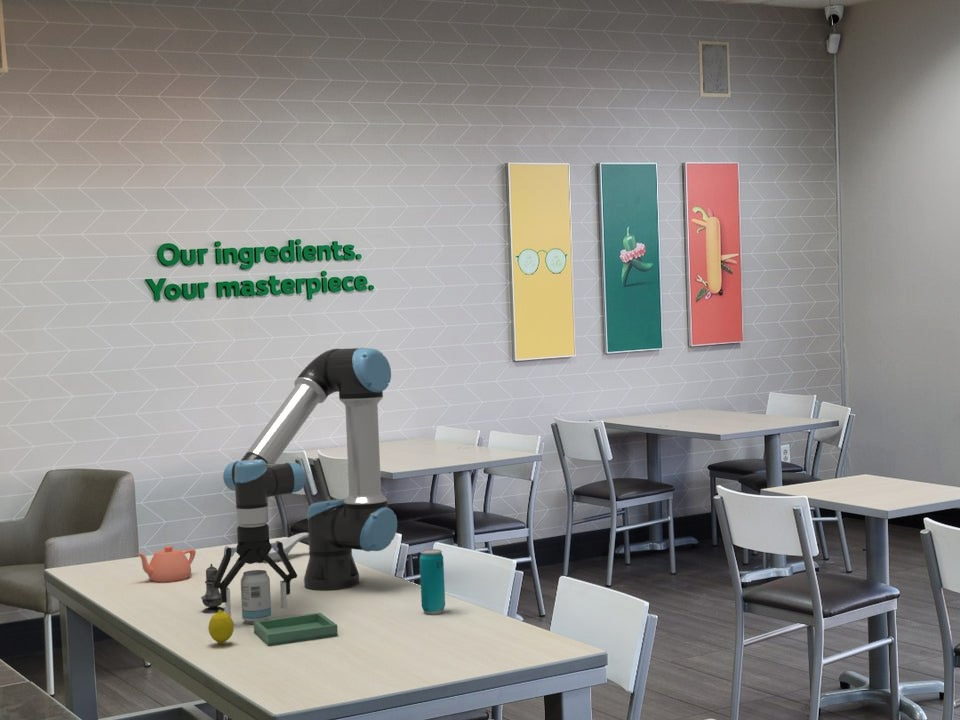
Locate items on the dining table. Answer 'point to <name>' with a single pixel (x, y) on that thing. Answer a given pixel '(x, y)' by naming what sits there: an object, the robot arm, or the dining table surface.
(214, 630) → the fruit
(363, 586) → the dining table surface
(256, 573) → the beverage can
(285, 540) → the spoon rest
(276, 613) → the dining table surface
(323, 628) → the tray
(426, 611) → the beverage can
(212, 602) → the salt shaker
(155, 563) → the teapot
